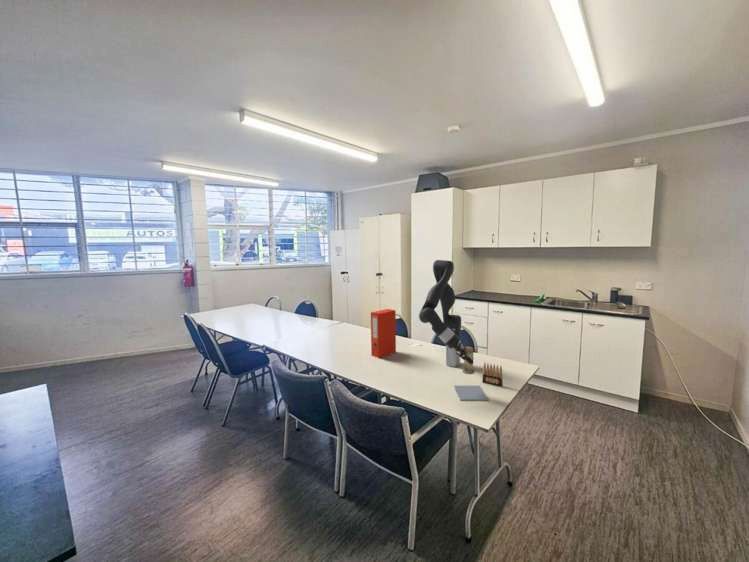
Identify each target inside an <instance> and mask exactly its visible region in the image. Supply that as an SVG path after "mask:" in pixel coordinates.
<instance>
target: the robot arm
mask: <svg viewBox="0 0 749 562" xmlns="http://www.w3.org/2000/svg"><path fill="white" fill-rule="evenodd" d="M454 270H455V264H454V263H453V261H451V260H444V259H437V260H434V262H433V265H432V272H433V275H434V279H435V282H436V283H435V284H434V285H433V286H432V287H431V288H429V291H428V293H427V296H426V298H425V301H424V303H423V305H422V307H421V309H420V311H419V314H418V319H419V321H420V322H421V323H423V324H428V323H429V324H430V325H431V330H432V331H433V332H434V333H435V334H436V336H438V338H440V340H441V341H442V342H443V343H444V345H445V365H446V364H447V365H446V366H447V367H451V366H453V368H457V367H456V366H458V367H461V359H462V360H463V361H464V360H466V361H467V362H468V363H469V364H470V365H471V364H473V365H474V357H473V360H472V359H471V358H470V357H469V356H468V355H467V354H466V351H465V350H464V347H466V346H465V345H464V344H463V343H462V341H461V333H462V332H461V331H462V317H461V315H459V314H451V313H450V310H451V309H452V308H453V306H454V304H455V303H456V297H455V291H454V289H453V287H452V286H451V285H450V284H449V282H450V279H451V277H452V276H453V273H454ZM439 302H440V306H441V311H442V319H441V317H440V316H439V314H438V313H437V311H436V310H435V309H436V308H437V307H438V305H439ZM453 330H454V331H453ZM464 356H465V357H464Z"/></svg>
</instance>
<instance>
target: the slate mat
mask: <svg viewBox="0 0 749 562" xmlns="http://www.w3.org/2000/svg"><path fill="white" fill-rule="evenodd" d="M454 387H455V388H454ZM453 388H454V389H455V392H456V393H457V397H458V398H460V399H459V400H460V402H461V401H462V400H463V401H464V400H472V401H475V400H477V401H478V400H481V401H488V402H489V398H488V397H487V394H486V393H485V392H484V390H483V389H482V387H481V385H453ZM472 401H471V402H472ZM477 401H476V402H477ZM464 402H465V401H464Z"/></svg>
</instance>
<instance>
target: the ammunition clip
mask: <svg viewBox="0 0 749 562" xmlns="http://www.w3.org/2000/svg"><path fill="white" fill-rule="evenodd" d="M502 367H503V366H502V365H500V367H499V365H498V364H497V365H496V364H494V363H493V365H492V363H490V364H489V363H488V362H487V364H486V362H484V363H483V369H482V383H483V384H486V385H491V386H495V387H499V388H502V387H503V385H504V384H503V368H502Z"/></svg>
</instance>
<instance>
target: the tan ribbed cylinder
mask: <svg viewBox="0 0 749 562" xmlns="http://www.w3.org/2000/svg"><path fill="white" fill-rule="evenodd" d="M464 350H465V351H466V354H467V355H468V356H469V357H470V358H471V359H472V360H473V361H474V359H473V358H474V347H472V346H465V347H464ZM463 356H464V355H463ZM464 357H465V356H464ZM462 373H464V374H465V375H473V374H475V369H474V363H473V364H471V365H470V364H469V363H468V362H467V361H466V360H463V369H462Z"/></svg>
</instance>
